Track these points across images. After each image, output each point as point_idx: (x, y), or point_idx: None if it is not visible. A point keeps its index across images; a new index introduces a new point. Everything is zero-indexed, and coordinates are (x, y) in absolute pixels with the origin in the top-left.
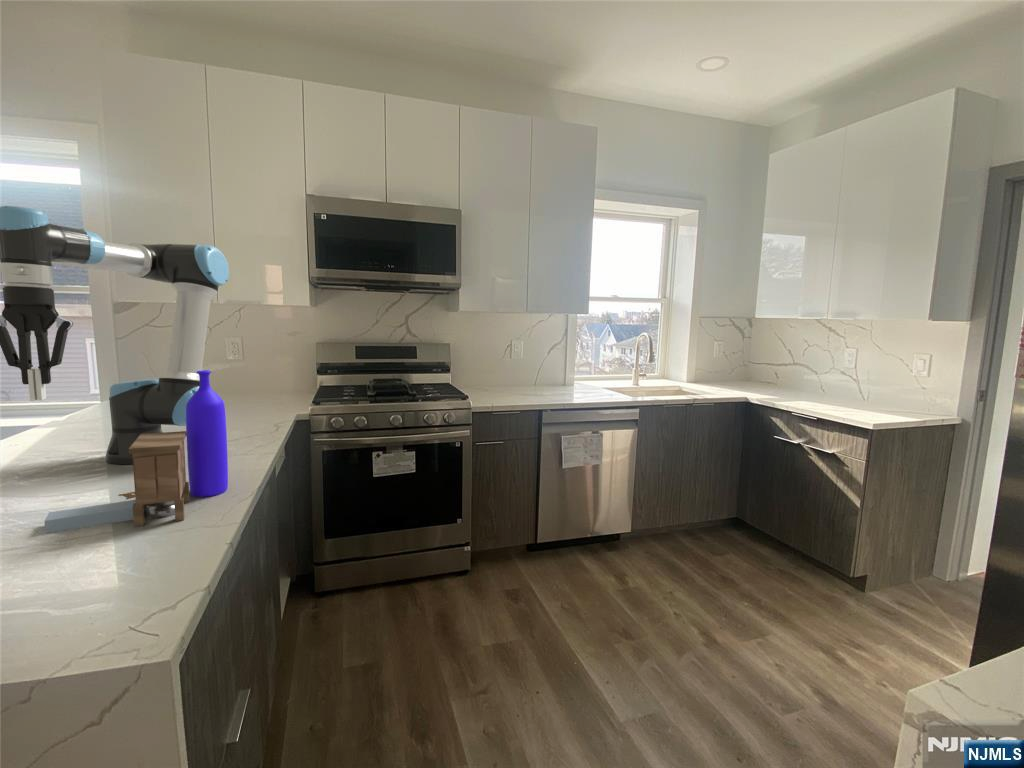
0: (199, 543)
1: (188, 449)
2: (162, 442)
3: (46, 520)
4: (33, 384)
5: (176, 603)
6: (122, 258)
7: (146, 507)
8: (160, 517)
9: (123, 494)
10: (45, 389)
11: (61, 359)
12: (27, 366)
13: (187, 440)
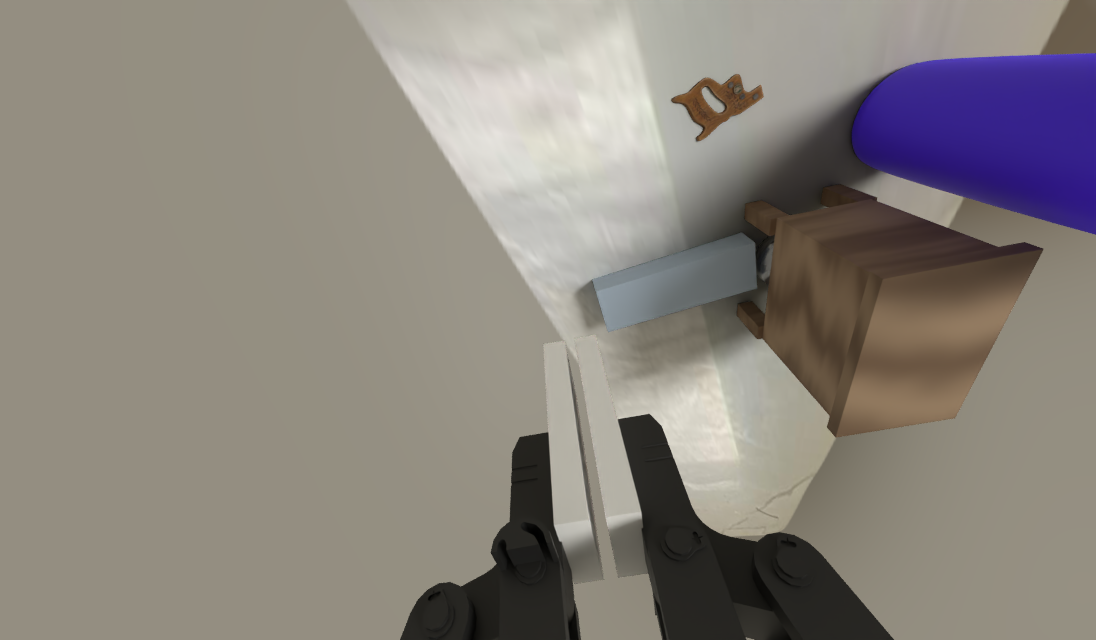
0: None
1: (974, 181)
2: (922, 391)
3: (610, 330)
4: (587, 470)
5: (792, 488)
6: None
7: (762, 271)
8: None
9: (686, 102)
10: (605, 374)
11: (852, 607)
12: (576, 611)
13: (1009, 185)
